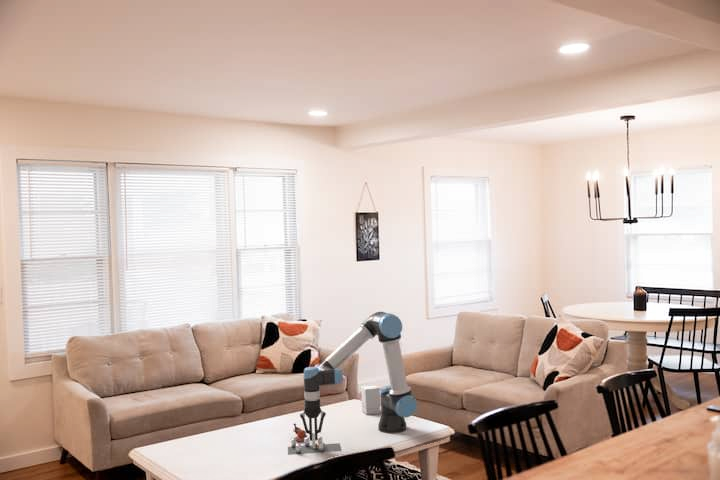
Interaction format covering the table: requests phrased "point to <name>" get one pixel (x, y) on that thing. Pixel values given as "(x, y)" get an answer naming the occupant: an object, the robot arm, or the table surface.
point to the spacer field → (306, 444)
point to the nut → (317, 445)
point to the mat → (312, 450)
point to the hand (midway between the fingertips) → (313, 446)
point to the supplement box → (370, 399)
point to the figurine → (299, 433)
